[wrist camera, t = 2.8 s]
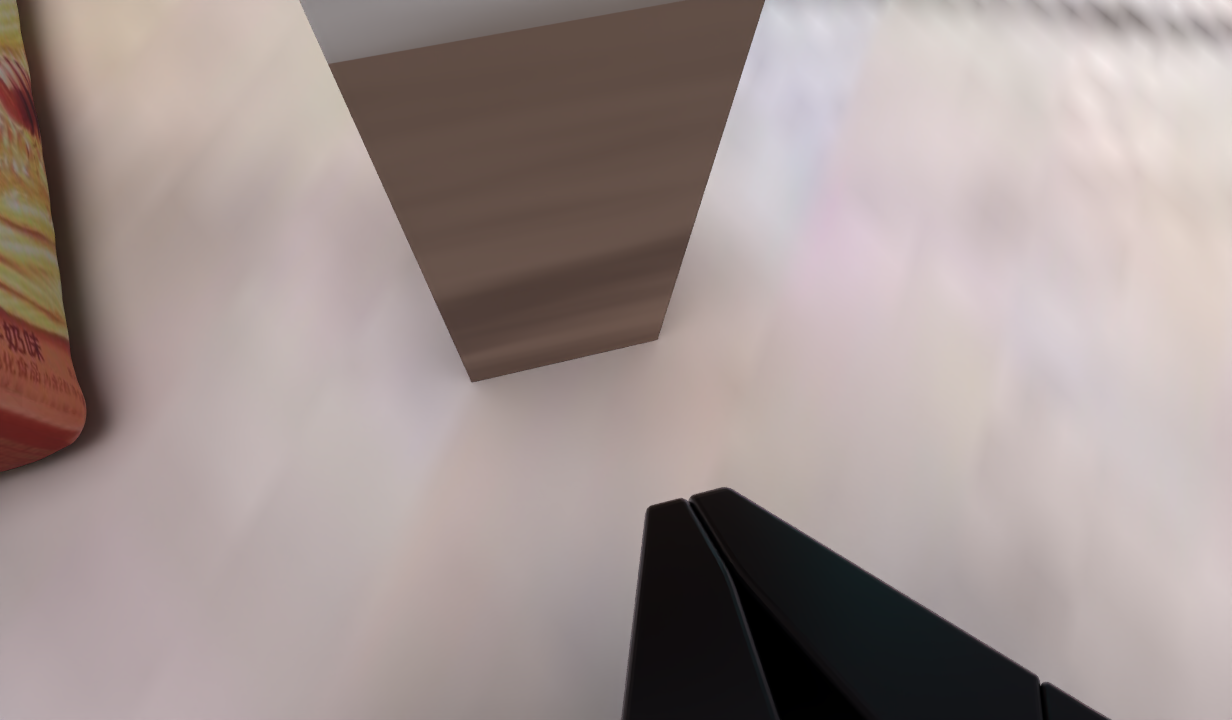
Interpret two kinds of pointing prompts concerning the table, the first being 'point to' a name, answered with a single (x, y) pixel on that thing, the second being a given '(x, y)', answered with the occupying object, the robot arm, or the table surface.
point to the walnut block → (541, 155)
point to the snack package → (29, 279)
